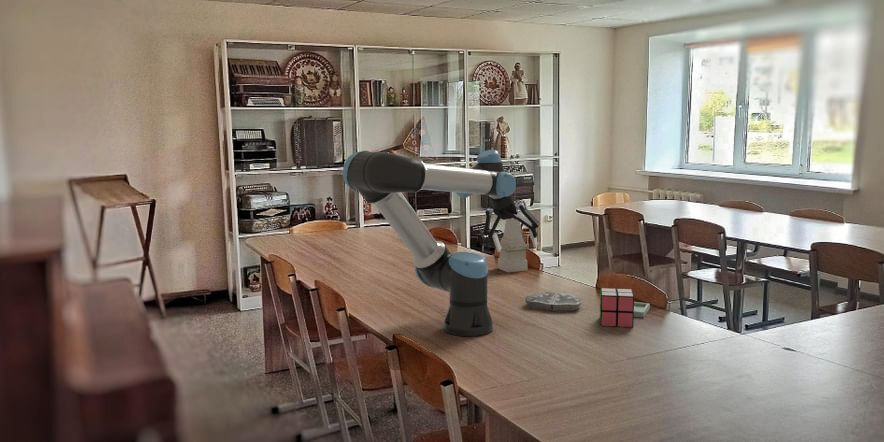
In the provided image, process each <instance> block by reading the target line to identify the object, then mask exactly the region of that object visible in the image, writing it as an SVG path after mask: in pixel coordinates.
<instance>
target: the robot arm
mask: <svg viewBox="0 0 884 442" xmlns="http://www.w3.org/2000/svg"><path fill="white" fill-rule="evenodd" d="M476 162H477V164H475V165H474V166H472V167H470V168H468V167H459V166H452V165H451V166H450V165H443V164H442V165H441V164H433V163H425V162H423V160H421V159H419V158H411V157H408V156H403V155H400V154H395V153H391V152H387V151H369V150H361V151H356V152H353V153H352V154H350V155H349V156H348V157H347V159H346V160H345V162H344V164H343V169H342V177H343V181H344V183H345V184H346V186H347V187H348V188H350V189H352V190H353V191H357V192H358V193H359V194H360V195H361V197H362V198H363V200H364V201H365V202H366V203H367V204H370V205H375V207H376V208H377V210H378V211H379V212H380V213H381V215H382V216H383V218H384V219H385V221H387V223H388V225H390V226H391V228H392V230H393V231H394V232H395V234H396V235H397V236H398V238H399V239H400V240H401V242H402V243H403V244H404V246H405V247H406V248H407V250H408V251H410V253H411V255H412V256H413V260H412V261H413V262H412V263H413V266H414V267H415V269H414V272H415V275H416V277H417V279H418V280H419V281H420V282H421V283H422V284H424V285H426V286H427V287H430V288H432V289H433V288H434V289H438V290H442V291H445V292H449V306H448V309H447V312H446V315H445V320H444V321H443V330H444V331H445V332H446V333H447V334H450V335H453V336H460V337H479V336H484V335H487V334H490V333H491V332H493V330H494V321H493V319H492V315H491V312H490V310H489V307H488V306H489V305H488V276H489V275H488V274H489V272H488V271H489V270H488V262H487V260H486V258H485V257H484V256H483V255H481V254H478V253H475V252H468V251H457V252H456V251H455V252H453V253H452V252H451V251H450V250H449V249H448V247H447V246H446V244H445V243H444V242H443V241H440V240H436V239H435V238H434V235H433V234H431V232H430V231H429V229H428V228H427V226H426V225H425V223H424V222H423V221H422V219H421V218H420V217H419V215H418V214H417V212H416V211H415V209H414V208H413V207H412V205H411V204H410V203H409V201H408V200H407V199H406V197H405V196H404V194H403V193H418V192H419V193H420V191H421V190H422V191H435V192H446V193H447V192H449V193H456V194H457V196H458V197H460V198H462V199H466V198H468V197H471V196H472V195H483V196H484V195H485V196H488V197H490V198H489V200H490V203H491V206H492V207H493V208H491V207H487V209H486V210H485V216H486V217H485V223H484V229H483V235H484V236H489V238H490V240H491V244H494V246H495V248H496V252H497V253H500V250H501V245H500V244H501V241H500V240H499V236H498V234H497V232H495V230H496V228H497V227H498V225H499V223H500V220H502V221H506V219H512V218H514V219H515V220H518V221H519V222H520V224H522V225H524V226H525V227H526V228H528V229H529V235H530V240H531V241H532V246H533V248H534V249H535V248H537V246H538V240H537V238H538V234H539V233H538V232H537V229H538V228H539V226H540V224H541V223H540V221H539V220H538V219H537V218H536V217H535V216H534V215H533V213H532V212H531V211H530V210H529V209H528V208H527V207H526V205H525V202H523V201H521V203H518V204H516V203H515V200H514V197H513V193H514V192H515V190H516V187H517V186H516V185H517V182H516V179H515V176H514V175H513V174H512V173H510V172H506V171H505V168H504V164H503V160H502V158H501V156H500V153H499V151H498V150H496V149H488V150H484V151H482V152H480V153H479V154H478V155H477V157H476ZM517 209H518V211H519V212H518V211H516V210H517ZM520 211H521V213H522V214H521V213H520ZM493 214H494V215H496V217H495V220H494V223H493V225H492V226H491V229H490V225H491V221H492V220H491V219H492V215H493ZM515 214H516V215H515Z"/></svg>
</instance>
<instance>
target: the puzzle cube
mask: <svg viewBox="0 0 884 442" xmlns="http://www.w3.org/2000/svg"><path fill="white" fill-rule="evenodd" d="M599 295H600V299H599V303H600V304H599V325H600V326H601V327H611V326H615V327H618V328H634V318H635V317H634V312H633V311H634V302H635V295H634V292H633V289H630V288H617V289H616V288H604V287H602V288H600V292H599ZM615 327H614V328H615Z"/></svg>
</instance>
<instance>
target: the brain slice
mask: <svg viewBox="0 0 884 442" xmlns="http://www.w3.org/2000/svg"><path fill="white" fill-rule="evenodd" d="M524 298H525V299H524V301H525V303H526V304H527V306H528V307H530V308H531V309H534V310H540V311H548V312H558V311H559V312H574V311H576V310H577V309H578V308H579V307H580V305H581V304H582V302H583V298H580V297H579V296H577V295H573V294H571V293H565V292H558V293H557V292H556V293H555V292H550V291H549V292H546V291H545V292H539V293H538V292H537V293H536V294H532V295H528V296H526V297H524Z"/></svg>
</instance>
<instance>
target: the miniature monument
mask: <svg viewBox="0 0 884 442" xmlns="http://www.w3.org/2000/svg"><path fill="white" fill-rule="evenodd" d="M516 211H518V212H519V213H520V211H519V209H517V210H516ZM515 215H516V214H515ZM522 232H523V231H522V226H521V222H519V221H518V220H515V219H514V218H512V219H506V220H505V223H504V231H503V234H502V235H503V236H502V237H501V240H500V245H501V250H500V252H499V257H498V258H497V269H499V270H501V271H503V272H506V273H515V272H526V271H528V269H529V268H528V264H529V263H528V260H527V255H526V254H527V250H529V249H530V243H529V242H528V243H527V242H525V238H523V233H522Z"/></svg>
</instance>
